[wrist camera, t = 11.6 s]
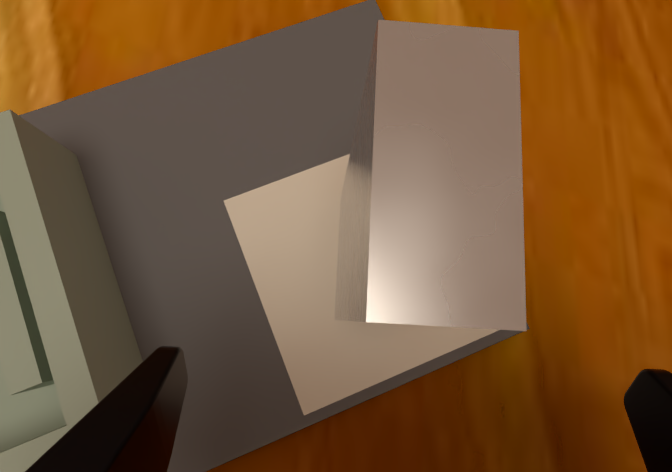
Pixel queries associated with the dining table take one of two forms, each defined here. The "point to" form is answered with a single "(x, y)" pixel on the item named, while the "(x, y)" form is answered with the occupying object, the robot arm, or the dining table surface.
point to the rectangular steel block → (435, 183)
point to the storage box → (52, 298)
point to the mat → (245, 232)
